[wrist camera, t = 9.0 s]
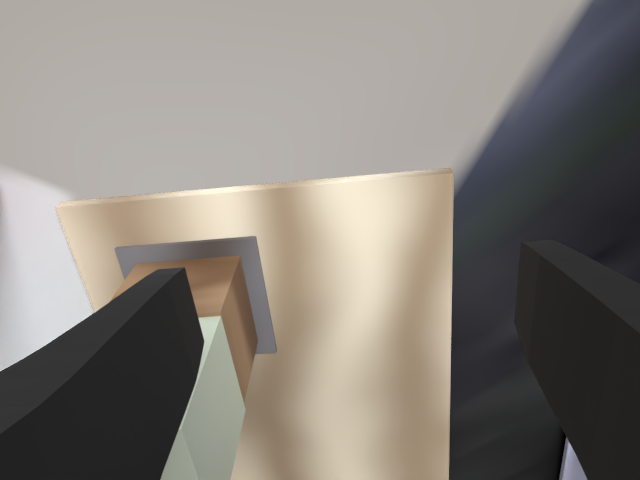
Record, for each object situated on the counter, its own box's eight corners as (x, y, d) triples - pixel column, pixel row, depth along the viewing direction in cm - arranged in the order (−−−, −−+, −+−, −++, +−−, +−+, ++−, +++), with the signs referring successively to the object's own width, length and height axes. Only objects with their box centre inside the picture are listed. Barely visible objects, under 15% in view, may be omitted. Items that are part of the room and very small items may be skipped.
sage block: (221, 315, 18) (181, 429, 13) (245, 409, 20) (218, 535, 15) (97, 326, 18) (19, 440, 14) (134, 417, 20) (77, 541, 16)
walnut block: (240, 255, 21) (220, 311, 18) (257, 341, 23) (243, 406, 20) (136, 263, 22) (96, 320, 18) (162, 347, 24) (131, 412, 20)
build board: (450, 167, 20) (454, 175, 19) (446, 498, 29) (448, 512, 28) (61, 201, 21) (52, 209, 21) (174, 508, 30) (170, 521, 30)
